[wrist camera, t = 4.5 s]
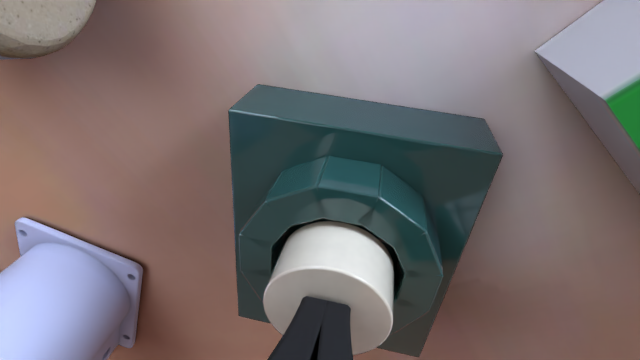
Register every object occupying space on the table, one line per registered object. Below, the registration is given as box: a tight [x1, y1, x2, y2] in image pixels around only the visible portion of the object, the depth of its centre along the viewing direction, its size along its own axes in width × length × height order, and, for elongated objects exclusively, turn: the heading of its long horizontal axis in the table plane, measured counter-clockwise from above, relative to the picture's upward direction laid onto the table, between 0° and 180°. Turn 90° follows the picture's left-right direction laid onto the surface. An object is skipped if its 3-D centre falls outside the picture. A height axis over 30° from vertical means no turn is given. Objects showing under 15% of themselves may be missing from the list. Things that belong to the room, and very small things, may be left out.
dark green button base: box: [228, 84, 503, 357], centre depth 15 cm, size 11×9×5 cm
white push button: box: [263, 221, 394, 355], centre depth 12 cm, size 4×4×2 cm
